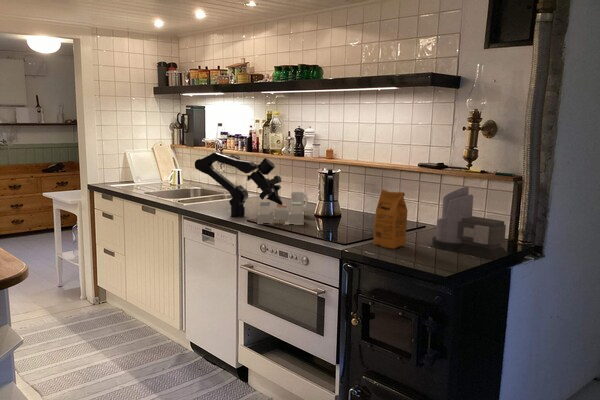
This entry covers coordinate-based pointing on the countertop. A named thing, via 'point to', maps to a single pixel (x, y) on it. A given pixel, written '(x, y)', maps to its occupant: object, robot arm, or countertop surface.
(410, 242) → the countertop surface
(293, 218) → the keypad
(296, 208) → the key sage
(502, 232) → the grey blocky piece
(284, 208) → the key terracotta
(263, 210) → the key slate
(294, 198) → the mug
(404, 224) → the coffee package
